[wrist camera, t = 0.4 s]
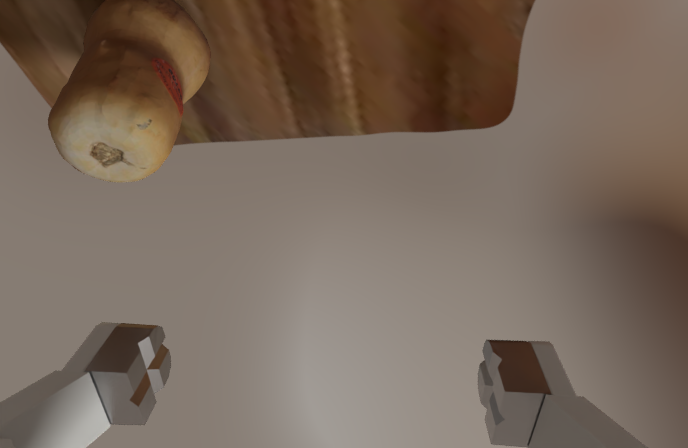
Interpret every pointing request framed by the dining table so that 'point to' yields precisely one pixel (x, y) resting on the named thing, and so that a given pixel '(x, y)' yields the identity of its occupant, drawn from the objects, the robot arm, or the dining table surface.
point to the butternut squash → (129, 89)
